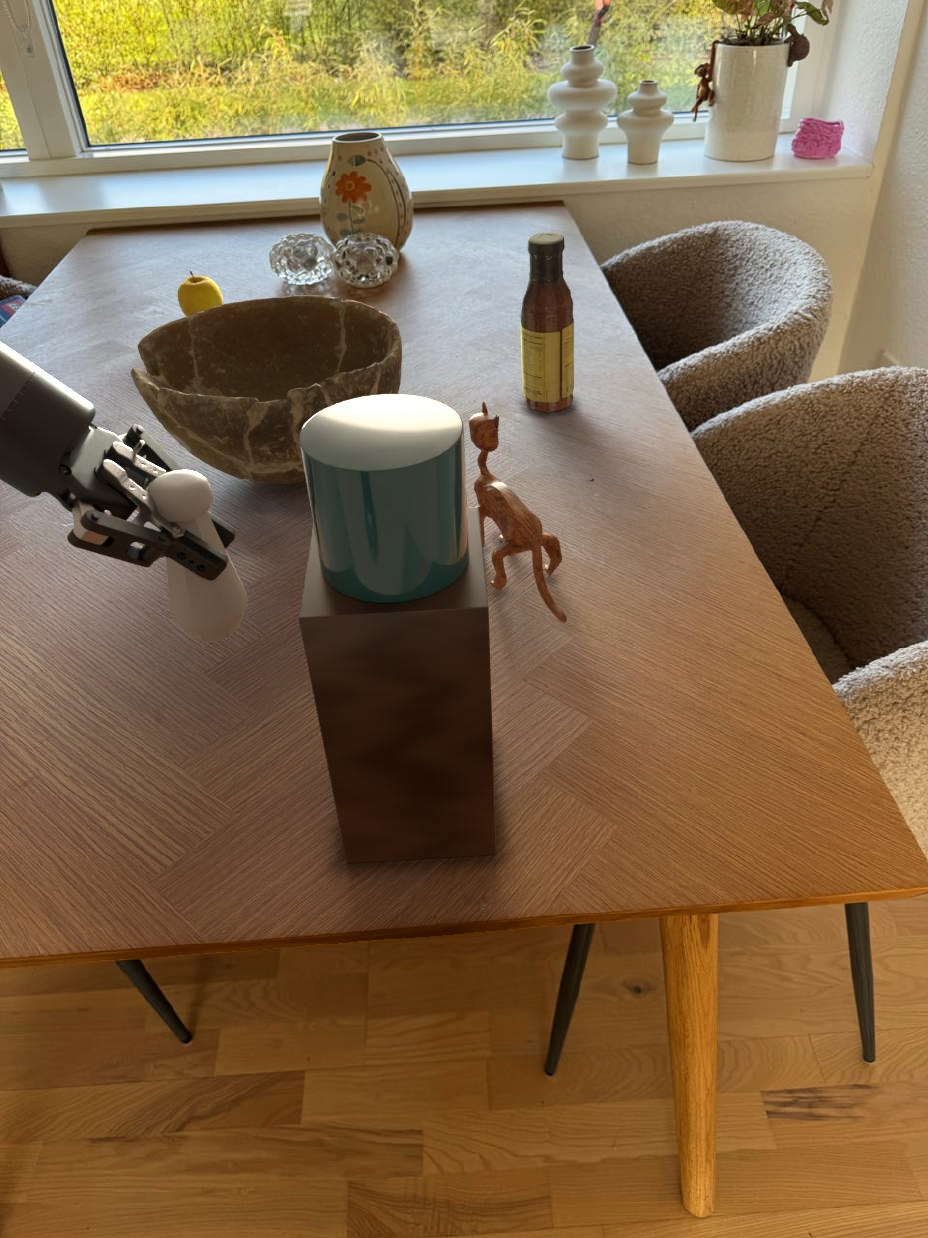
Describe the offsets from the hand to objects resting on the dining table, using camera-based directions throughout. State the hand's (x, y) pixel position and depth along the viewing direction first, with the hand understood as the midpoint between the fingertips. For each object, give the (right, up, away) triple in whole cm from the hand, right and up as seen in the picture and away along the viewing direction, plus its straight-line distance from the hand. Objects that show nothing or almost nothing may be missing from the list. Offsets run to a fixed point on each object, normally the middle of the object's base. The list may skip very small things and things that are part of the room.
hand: (224, 555), depth 68 cm
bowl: (-2, +12, +36) cm, 38 cm away
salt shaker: (-2, -5, +4) cm, 7 cm away
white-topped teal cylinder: (+14, 0, -14) cm, 20 cm away
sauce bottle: (+28, +22, +46) cm, 58 cm away
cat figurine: (+23, -1, +18) cm, 29 cm away
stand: (+14, -18, -2) cm, 23 cm away
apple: (-21, +39, +70) cm, 83 cm away
